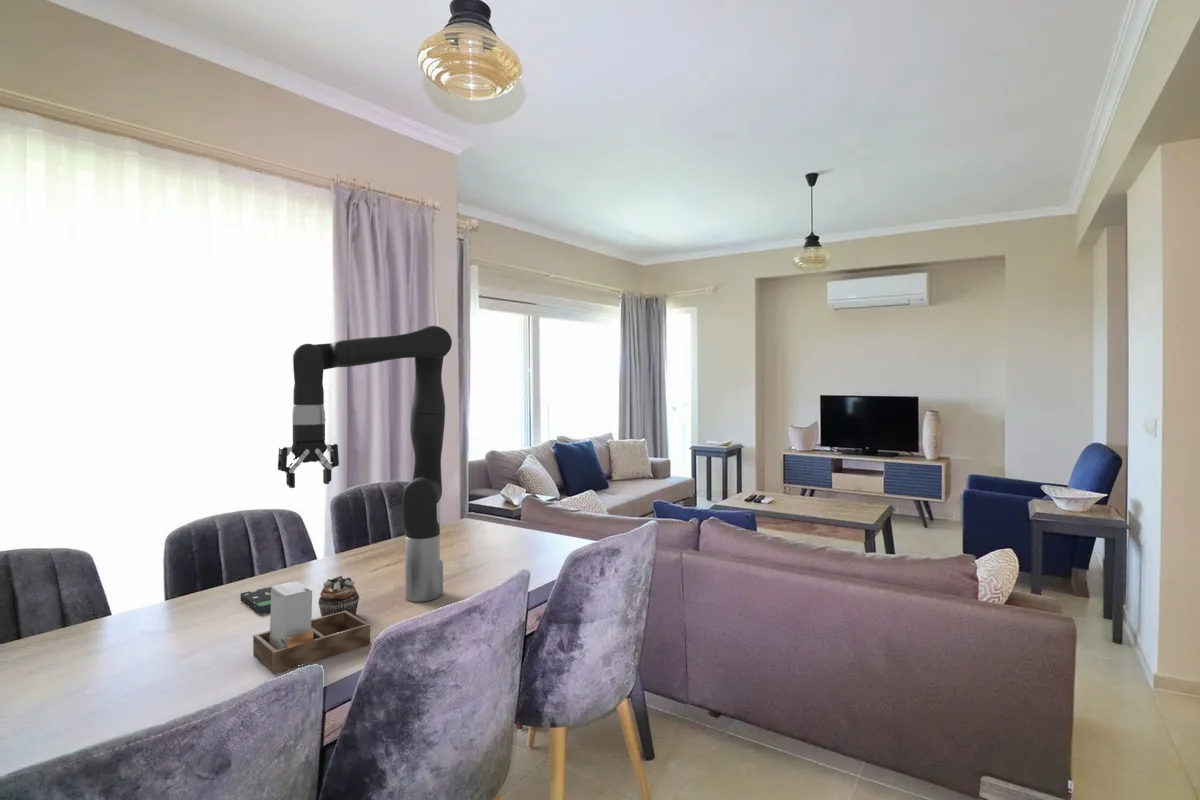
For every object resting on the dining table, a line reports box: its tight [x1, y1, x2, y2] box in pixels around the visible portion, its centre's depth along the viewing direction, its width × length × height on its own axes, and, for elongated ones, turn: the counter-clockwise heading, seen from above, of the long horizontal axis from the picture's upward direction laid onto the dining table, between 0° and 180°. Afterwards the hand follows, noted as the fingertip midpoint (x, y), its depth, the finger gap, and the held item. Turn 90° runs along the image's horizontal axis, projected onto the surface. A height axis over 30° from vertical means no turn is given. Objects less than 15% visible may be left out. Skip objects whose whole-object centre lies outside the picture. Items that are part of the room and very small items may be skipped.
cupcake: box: [318, 575, 360, 617], centre depth 155 cm, size 10×10×10 cm
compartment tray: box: [252, 611, 371, 675], centre depth 136 cm, size 20×13×6 cm, turn 136°
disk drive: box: [240, 586, 271, 615], centre depth 166 cm, size 10×3×15 cm
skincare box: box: [269, 580, 313, 650], centre depth 133 cm, size 8×6×15 cm
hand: (309, 485), depth 157 cm, fingers open, 8 cm apart
